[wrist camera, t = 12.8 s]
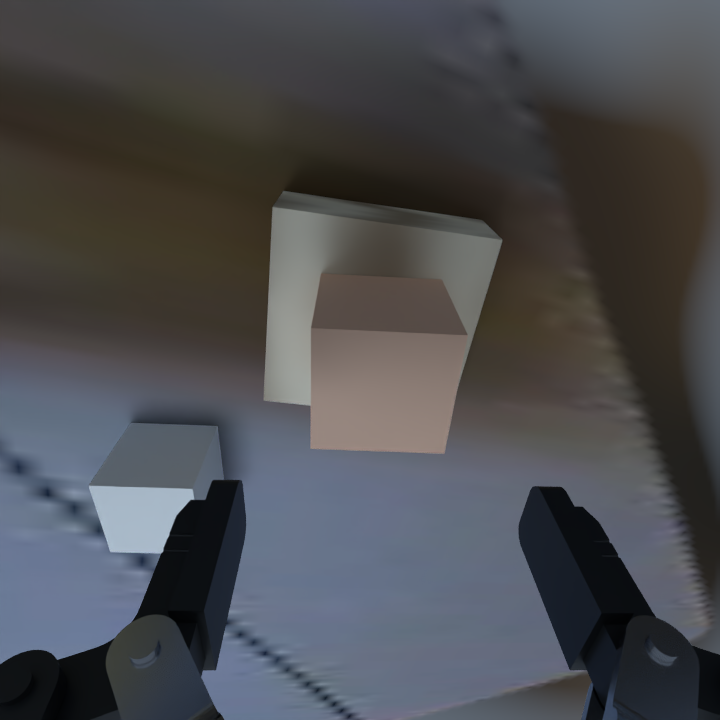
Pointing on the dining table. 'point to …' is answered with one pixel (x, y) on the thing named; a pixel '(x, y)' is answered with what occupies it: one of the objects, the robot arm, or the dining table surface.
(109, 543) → the offwhite cube
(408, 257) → the gray block
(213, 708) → the robot arm
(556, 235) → the dining table surface
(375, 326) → the terracotta cube
